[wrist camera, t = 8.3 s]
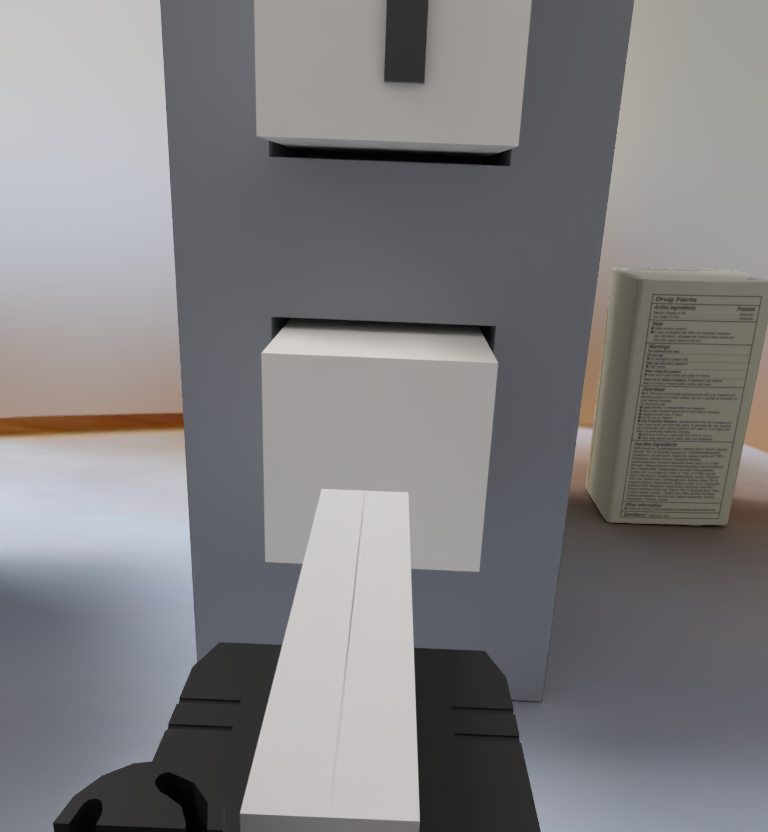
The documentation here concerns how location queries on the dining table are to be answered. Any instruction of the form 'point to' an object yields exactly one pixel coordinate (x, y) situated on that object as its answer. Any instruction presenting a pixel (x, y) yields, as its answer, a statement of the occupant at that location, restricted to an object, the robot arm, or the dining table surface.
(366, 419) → the plain button
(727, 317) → the skincare box
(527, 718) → the dining table surface
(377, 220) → the grey upright slab
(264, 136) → the white protruding block
